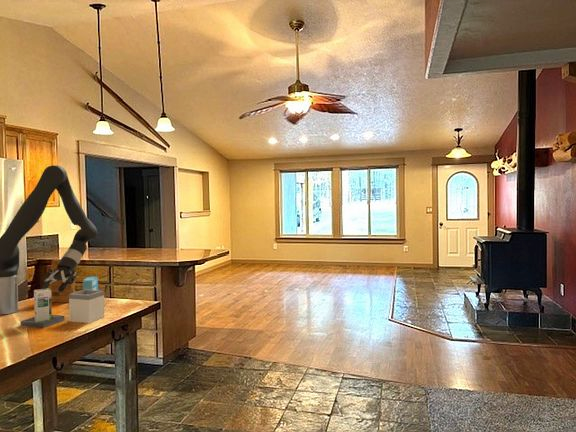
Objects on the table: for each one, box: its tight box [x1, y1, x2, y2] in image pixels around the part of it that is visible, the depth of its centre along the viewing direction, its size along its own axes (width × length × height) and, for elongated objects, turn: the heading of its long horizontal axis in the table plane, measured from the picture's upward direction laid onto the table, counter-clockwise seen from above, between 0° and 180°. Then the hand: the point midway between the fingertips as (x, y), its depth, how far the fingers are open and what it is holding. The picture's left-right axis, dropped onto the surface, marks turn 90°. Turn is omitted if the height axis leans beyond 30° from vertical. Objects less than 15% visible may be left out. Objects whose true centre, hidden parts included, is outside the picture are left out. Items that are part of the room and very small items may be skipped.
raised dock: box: [68, 289, 105, 324], centre depth 189 cm, size 10×10×12 cm
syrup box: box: [33, 287, 53, 323], centre depth 182 cm, size 6×6×14 cm
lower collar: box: [20, 314, 66, 329], centre depth 183 cm, size 12×12×2 cm
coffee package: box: [49, 258, 76, 304], centre depth 222 cm, size 10×12×22 cm
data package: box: [82, 276, 99, 290], centre depth 223 cm, size 12×4×12 cm, turn 11°
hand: (51, 290), depth 187 cm, fingers open, 8 cm apart
